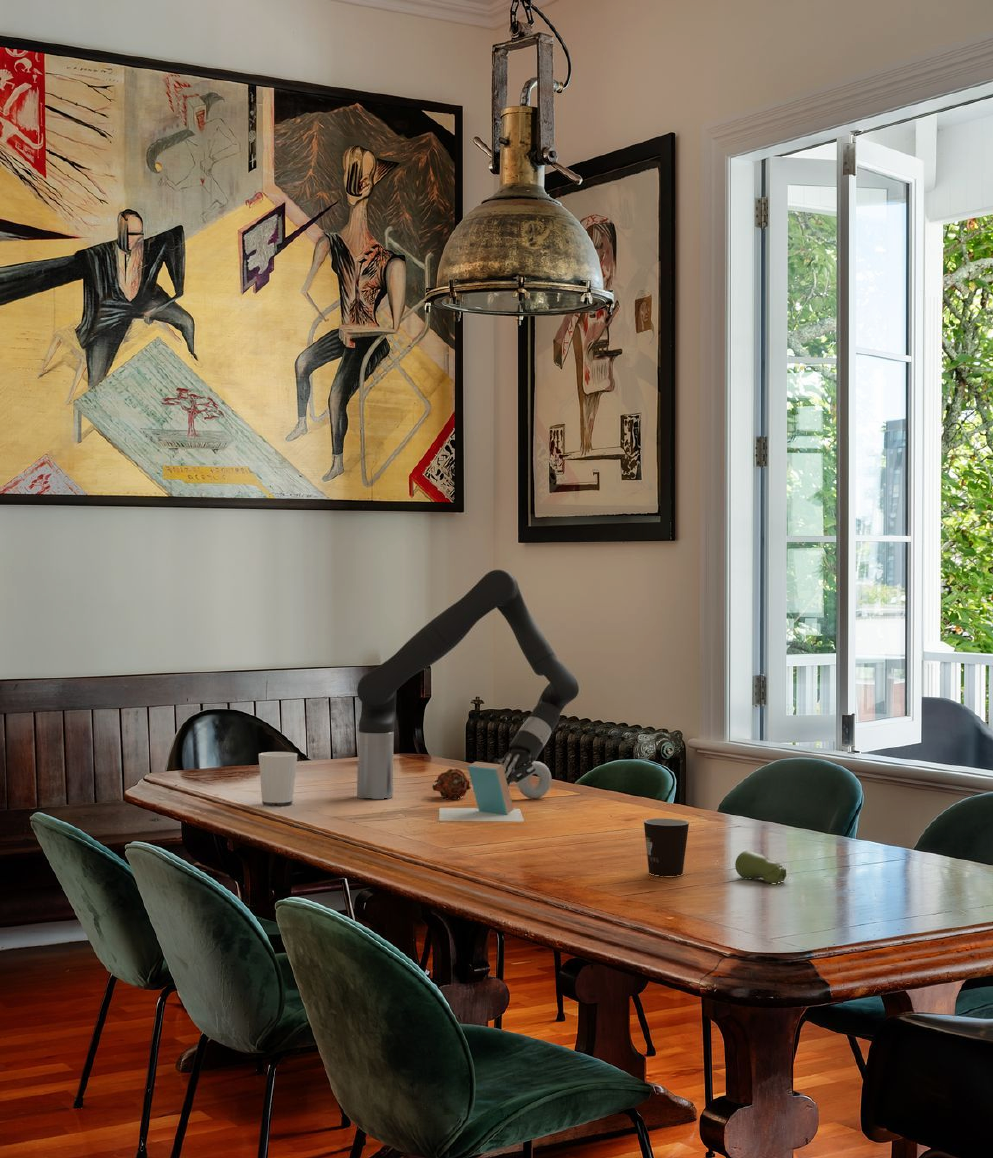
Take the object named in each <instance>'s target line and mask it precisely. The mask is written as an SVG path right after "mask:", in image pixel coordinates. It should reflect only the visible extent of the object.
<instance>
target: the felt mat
mask: <svg viewBox="0 0 993 1158" xmlns="http://www.w3.org/2000/svg"><path fill="white" fill-rule="evenodd" d="M438 814H439V815H438V819H439V820H438V822H439V821H440V822H512V823H513V822H514V823H515V822H517V823H518V822H519V823H520V822H521V823H522V822H525V820H524V817H523V814H522V811H521V809H520V808H514V810H513V811H511V812H510V813H508V814H507V815H502V814H495V813H489V812H482V811H479V809H478V808H477V807H476V808H475V807H474V808H473V807H469V808H468V807H439V810H438Z"/></svg>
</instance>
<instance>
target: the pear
mask: <svg viewBox="0 0 993 1158" xmlns="http://www.w3.org/2000/svg"><path fill="white" fill-rule="evenodd" d="M734 866H735V867H734V868H735V870H736V872H737V874H738V875H739V877H740V878H743V879H745V878H756V879H762V880H764V882H766V883H767V882H768V883H767V884H769V883H778V882H781V881H784V882H785V879H786V877H787V869H785V868H784V867H783V865H781V864H780V863H778V862H777V861H773V860H771V859H770V858H769V857H767V856H766V855H764V854H762V853H759V852H756V851H752V850H746V851H742V852H741V853H739V854H738V855H737V857H736V859H735V862H734Z"/></svg>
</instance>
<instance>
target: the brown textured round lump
mask: <svg viewBox="0 0 993 1158" xmlns="http://www.w3.org/2000/svg"><path fill="white" fill-rule="evenodd" d="M434 783H435V784H432V790H433V791H436V792H439V793H440V796H441V797H442V798H443V799H445V798H446V799H449V798H450V799H453V800H459V799H460V798H461V797H465V795H466V794H467V791H469V790H470V789H472V787H471V785H470V783H471V782H470V780H469V779H468V777H467V776H466V774H465V773H464V772H463V771H462V770H461V769H459V768H454V769H453V768H449V769H448V770H446V771H445V772H442V773H440V774H439V775H438V776H437V779H436V780H434ZM458 798H459V799H458Z"/></svg>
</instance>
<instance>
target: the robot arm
mask: <svg viewBox="0 0 993 1158" xmlns="http://www.w3.org/2000/svg"><path fill="white" fill-rule="evenodd" d="M496 608H497V610H498V611H499V612H500V614H502V616H503V617H504V619H505V620H506V622H507V624H508V625H509V627H510V629H511V630H512V632H513V635H514V637H515V639H516V641H517V643H518V645H519V648H520V650H521V651H522V653H523V655H524V657H525V659H526V660H527V662H528V664H529V666H530V668H531V669H532V670H533V672H534V674H536V675H537V676H541V677H542V676H544V677H545V678H546V680H548V682H549V683H548V684H547V685H546V686H545V688H544V689H543V691H542V692H541V694H540V696H539V699H538V701H537V704H536V705H535V707H534V708H533V710H532V711H531V713H530V714H529V716H528V717H527V719H526V720H525V721H524V722H523V723H522V725H521V726H520V728H519V730H518V731H517V733H516V734H515V736H514V737H513V739H512V740H511V742H510V743H509V749H508V751H507V752H506V753H505V754H504V755H503V757H502V758H498V757H496V758H494V759H493V764H500V765H503V769H504V773H505V777H506V781H507V785H508V787H509V785H511V784H513V783H514V782H515V783H516V784H517V782H519V781H521V780H522V779H524V778H525V777H527V776H528V775H530V774H531V773H533V772H535V770H536V769H535V767H534V766H533V764H532V763H533V762H534V761H536V760H537V759H538V757H539V755H540V754H541V752H542V750H543V749H544V747H545V746H546V744H547V742H548V741H549V739H550V736H551V734H552V732H553V731H554V730H555V728H556V726H557V724H558V723H559V720H560V719H561V718H560V717H561V713H562V711H563V710H564V709H565V707H566V706H567V705H568V704H570V703H571V702H572V701H573V700H575V699H576V698H577V697H578V695H579V692H580V691H579V690H580V688H579V683H578V680H577V678H576V677H575V675H574V674H573V673H572V672H571V671H570V670H569V669H568V668H567V666H566V665H565V664H564V663H563V662H561V660H559V658H558V657H557V655H556V654H555V651H554V650H553V649H552V647H551V645H550V643H549V642H548V640H547V639H546V637H545V635H544V634H543V633H542V631H541V630H540V628H539V626H538V625H537V623H536V621H535V620H534V618H533V616H532V614H531V613H530V611H529V609H528V607H527V605H526V602H525V600H524V597H523V595H522V592H521V590H520V588H519V584H518V581H517V578H515V576H513V574H511V573H510V572H508V571H507V570H505V569H493V570H490V571H489V572H487V573H486V574H484V575H483V577H482V578H481V579H479V581H478V582H477V583H476V584H475V585H474V586H473V587H472V588H471V589H470V590H469V591H468V592H467V593H466V594H465V595H464V596H463V597H462V598H461V599H459V600H457V601H456V602H455V603H453V604H452V605H451V606H449V607H447V608H446V609H444V611H442V612H441V613H439V614H438V615H437V616H436V617H434V618H433V619H432V620H430V621H429V622H428V623H427V624H425V626H423V627H422V628H420V629H419V631H418V632H416V633H415V634H414V635H413V636H412V637H411V638H409V639H408V641H407V642H406V643H404V644H403V645H402V646H401V648H400V649H399V650H398V651H397V652H396V653H395V654H393V656H391V657H390V658H388V659H387V660H385V661H384V662H383V663H382V664H380V665H378V666H377V667H375V668H374V669H372V670H371V671H369V672H367V673H365V674H364V675H363V676H362V677H361V678H360V680H359V681H358V684H357V687H356V694H357V697H358V699H359V701H360V702H361V714H360V717H359V721H358V749H357V750H358V753H357V756H358V758H357V759H358V760H357V773H356V774H357V777H356V779H357V783H356V784H357V785H356V798H357V797H359V798H358V799H364V798H372V799H371V800H384V798H387V799H391V797H392V798H393V796H394V740H395V739H394V737H395V734H394V732H395V731H394V730H395V721H396V712H397V711H396V710H397V709H396V708H397V691H398V690H399V688H400V687H402V686H403V685H404V684H405V683H406V682H407V681H408V680H409V679H412V677H414V676H415V675H417V674H418V673H420V672H422V671H423V670H425V669H427V668H429V667H431V666H432V665H433V664H434V663H436V662H438V661H439V660H440V659H441V658H443V657H444V656H445V655H447V654H448V653H449V652H450V651H452V650H453V649H454V648H455V647H456V646H457V645H459V644H460V643H461V641H462V640H463V639H464V638H465V637H466V636H467V635H468V633H469V632H470V631H471V630H472V629H473V627H474V626H475V625H476V624H477V623H478V622H479V621H480V620H481V619H482V618H483V617H485V616H486V615H488V614H489V613H490V612H492V611H493V610H495V609H496ZM520 774H522V775H520ZM519 775H520V776H519Z"/></svg>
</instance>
